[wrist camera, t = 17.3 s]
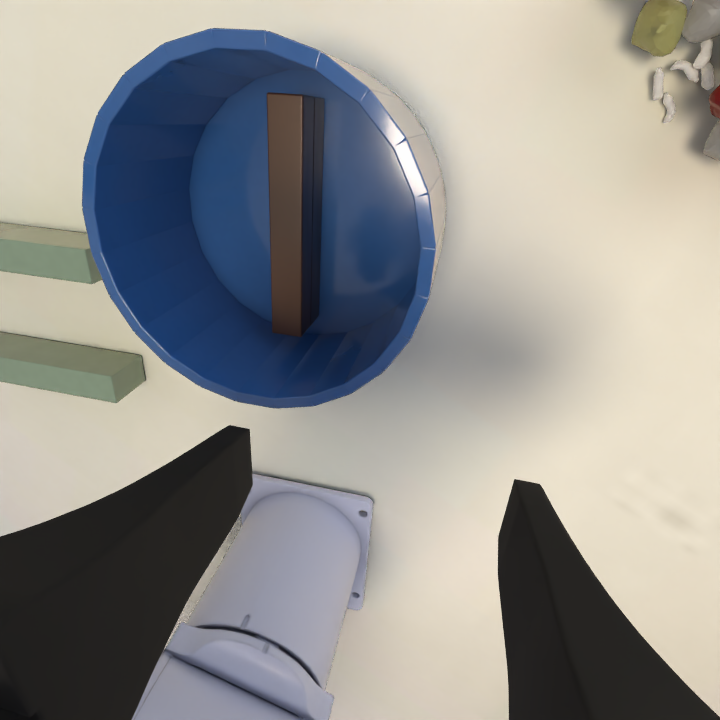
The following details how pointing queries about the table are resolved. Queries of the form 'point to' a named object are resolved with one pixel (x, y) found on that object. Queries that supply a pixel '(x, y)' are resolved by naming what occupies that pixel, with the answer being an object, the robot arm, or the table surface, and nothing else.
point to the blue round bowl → (259, 216)
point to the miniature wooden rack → (51, 358)
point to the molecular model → (660, 36)
